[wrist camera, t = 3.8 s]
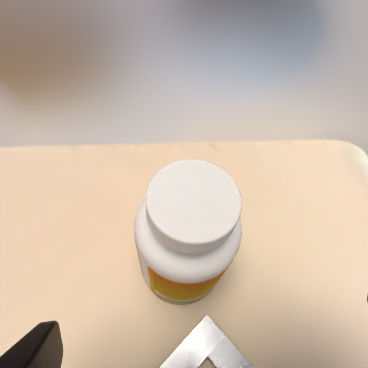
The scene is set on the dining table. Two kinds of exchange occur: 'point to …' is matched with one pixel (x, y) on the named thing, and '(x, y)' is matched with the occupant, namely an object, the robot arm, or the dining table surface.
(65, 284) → the dining table surface
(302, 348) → the dining table surface
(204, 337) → the frame
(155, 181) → the supplement bottle
